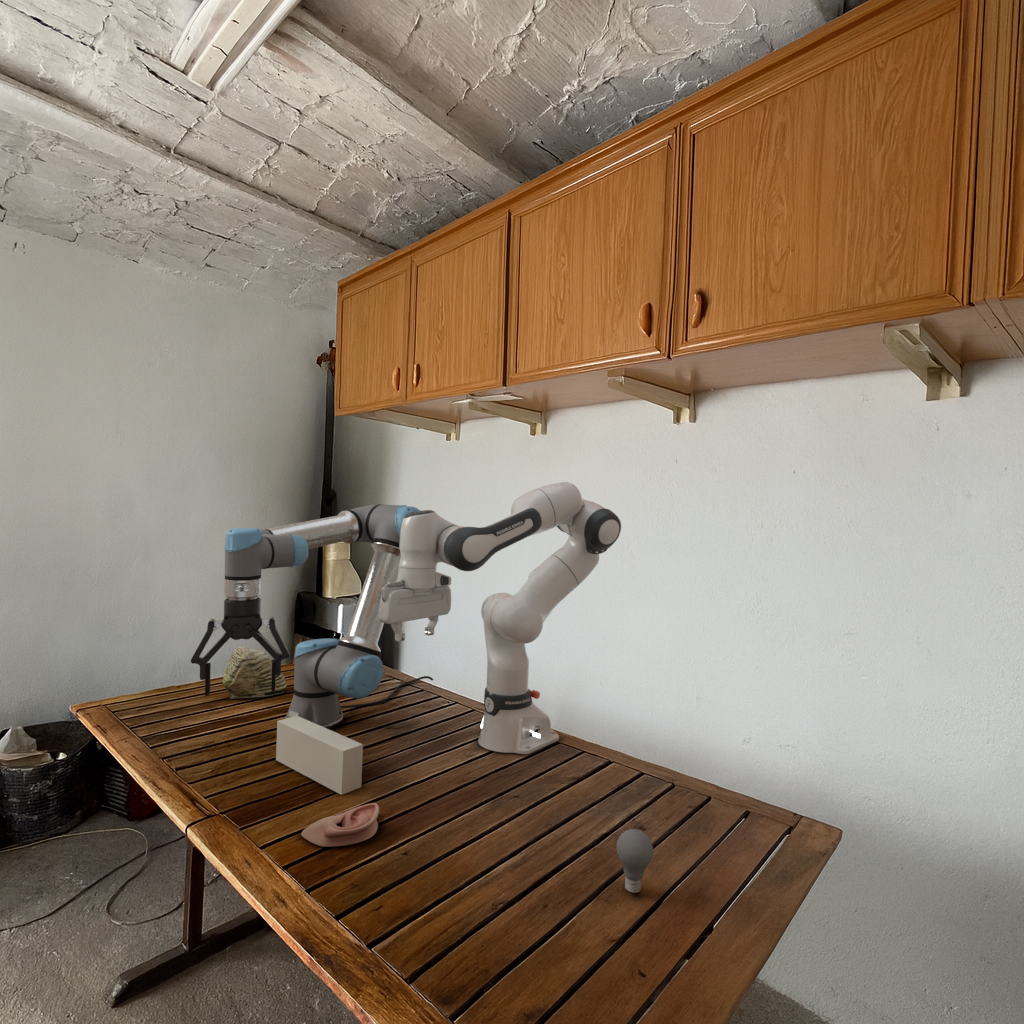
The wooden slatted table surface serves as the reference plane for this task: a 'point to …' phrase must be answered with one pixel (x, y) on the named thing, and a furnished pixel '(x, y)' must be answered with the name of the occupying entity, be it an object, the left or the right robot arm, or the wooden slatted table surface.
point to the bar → (320, 754)
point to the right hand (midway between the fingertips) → (414, 637)
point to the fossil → (251, 674)
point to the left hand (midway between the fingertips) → (240, 691)
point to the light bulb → (634, 857)
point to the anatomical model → (344, 827)
